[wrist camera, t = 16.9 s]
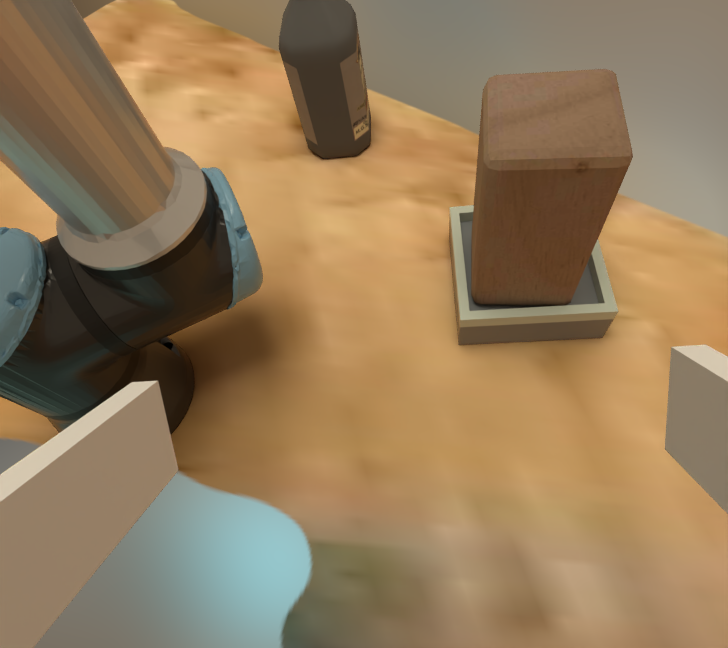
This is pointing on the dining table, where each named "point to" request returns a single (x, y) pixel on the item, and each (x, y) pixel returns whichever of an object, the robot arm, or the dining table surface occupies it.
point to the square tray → (526, 322)
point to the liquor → (326, 75)
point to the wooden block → (544, 182)
